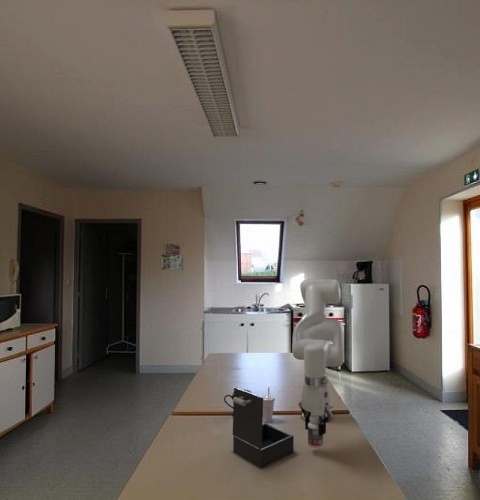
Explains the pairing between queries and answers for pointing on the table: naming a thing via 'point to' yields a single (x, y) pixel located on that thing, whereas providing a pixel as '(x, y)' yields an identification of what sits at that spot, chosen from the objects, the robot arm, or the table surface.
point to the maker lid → (248, 417)
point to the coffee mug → (233, 397)
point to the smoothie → (268, 407)
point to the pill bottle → (314, 432)
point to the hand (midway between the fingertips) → (315, 430)
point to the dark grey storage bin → (265, 447)
